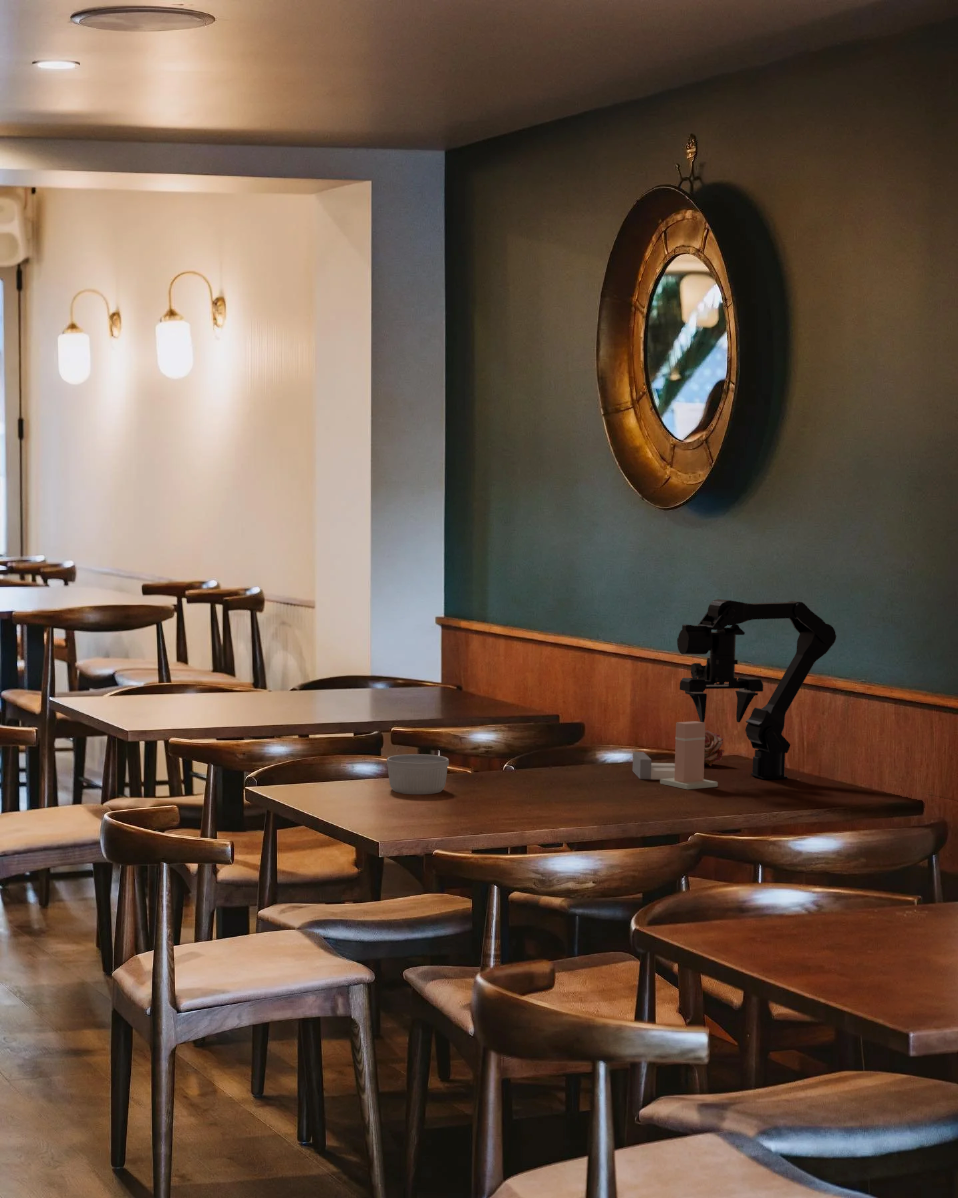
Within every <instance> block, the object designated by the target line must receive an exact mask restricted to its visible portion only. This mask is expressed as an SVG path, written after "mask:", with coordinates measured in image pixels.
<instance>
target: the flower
mask: <svg viewBox="0 0 958 1198" xmlns="http://www.w3.org/2000/svg"><path fill="white" fill-rule="evenodd" d="M723 741H724V738H723V737H722V738H721V735H720V734H718V733H716V732H711V731H710V730H708V729H705V748H704V762H705V763H704V765H706V764H708V765H709V766H710V767H712V764H713V763H714V762H718V761H721V760H722V759H723V758H722V756H723V755H724V754H723V753H725V749H721V747H722V745H723V744H724V742H723Z"/></svg>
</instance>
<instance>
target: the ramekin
mask: <svg viewBox="0 0 958 1198" xmlns="http://www.w3.org/2000/svg"><path fill="white" fill-rule="evenodd" d="M386 765H387V773H388V781H389V786H390V788H391V789H392V791H393V792H395V793H397V794H404V795H433V794H439V793H441V792H442V791H443V790H444V788H445V787H446V782H447V775H448V773H447V772H448V767H449V765H450V761H449V758H448V757H446V756H442V755H436V754H426V753H425V754H423V753H421V754H419V753H416V754H415V753H412V754H408V753H407V754H396V755H392V756H389V757H386Z"/></svg>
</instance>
